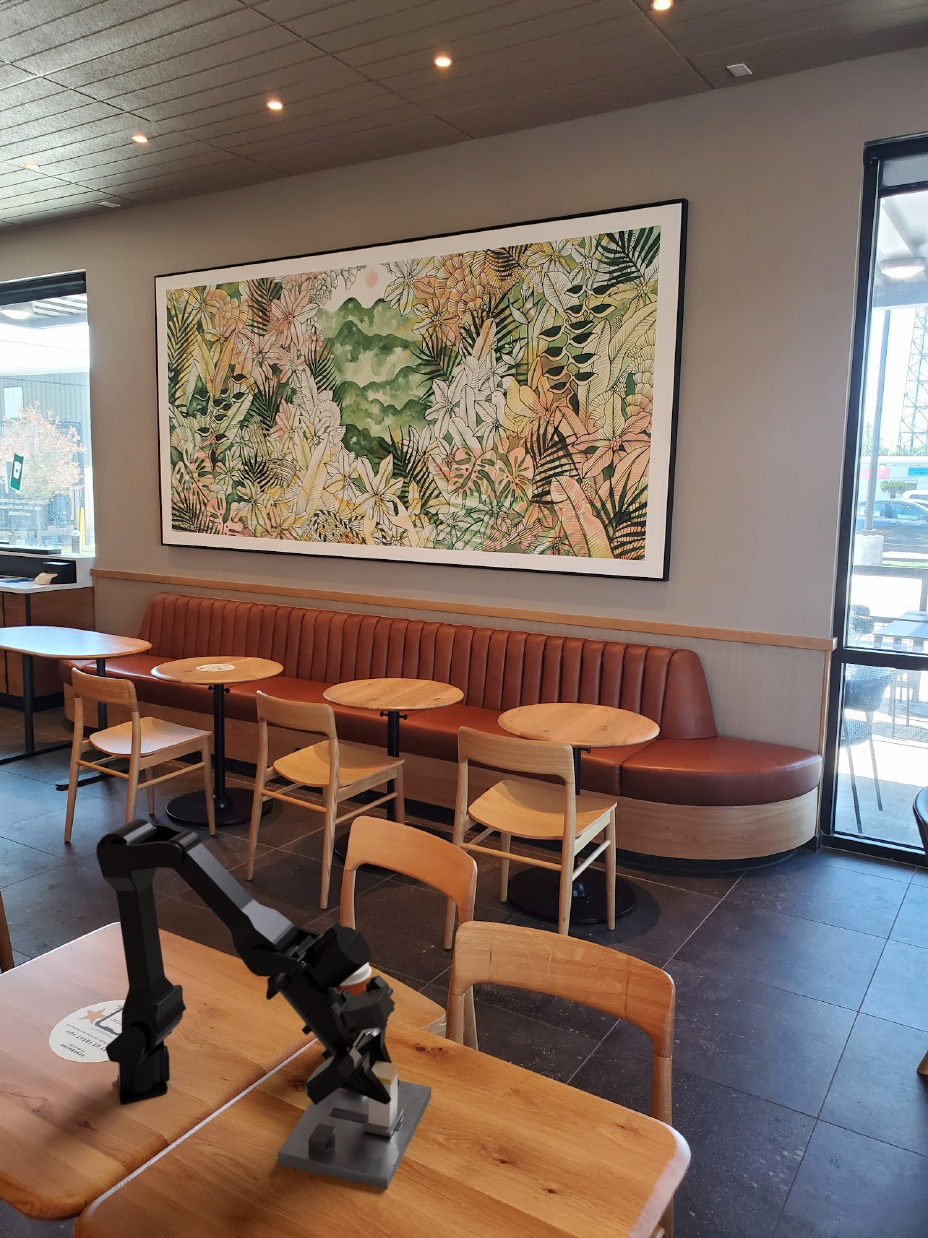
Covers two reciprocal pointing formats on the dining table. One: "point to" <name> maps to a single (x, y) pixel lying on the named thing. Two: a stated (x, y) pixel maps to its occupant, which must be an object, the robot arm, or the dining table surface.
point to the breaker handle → (380, 1114)
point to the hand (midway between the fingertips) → (393, 1094)
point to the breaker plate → (353, 1137)
